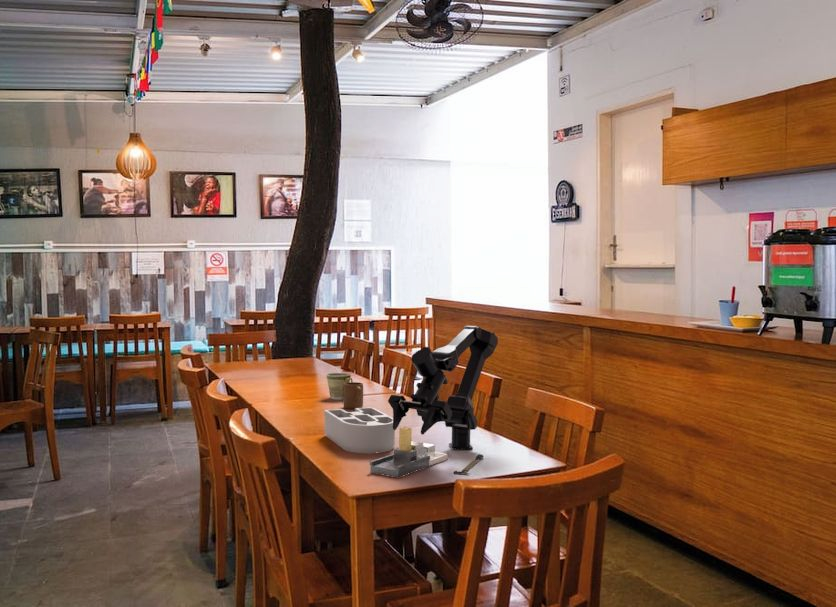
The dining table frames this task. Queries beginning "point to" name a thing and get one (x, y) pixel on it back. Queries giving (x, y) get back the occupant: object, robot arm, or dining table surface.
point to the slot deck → (397, 466)
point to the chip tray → (438, 458)
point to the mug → (353, 395)
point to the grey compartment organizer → (360, 430)
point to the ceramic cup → (337, 384)
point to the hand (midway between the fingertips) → (407, 431)
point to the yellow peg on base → (405, 446)
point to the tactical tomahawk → (469, 465)
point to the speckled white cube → (429, 450)
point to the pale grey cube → (417, 448)
